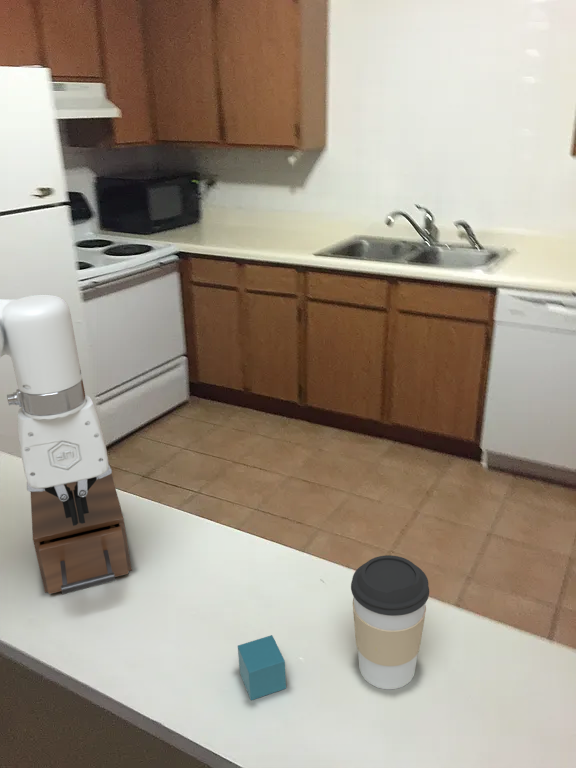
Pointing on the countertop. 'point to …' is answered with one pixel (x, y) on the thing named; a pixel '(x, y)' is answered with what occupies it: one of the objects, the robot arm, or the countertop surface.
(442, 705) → the countertop surface
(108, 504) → the cabinet
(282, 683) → the block
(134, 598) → the countertop surface
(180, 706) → the countertop surface
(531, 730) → the countertop surface
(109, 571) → the drawer
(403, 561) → the coffee cup
